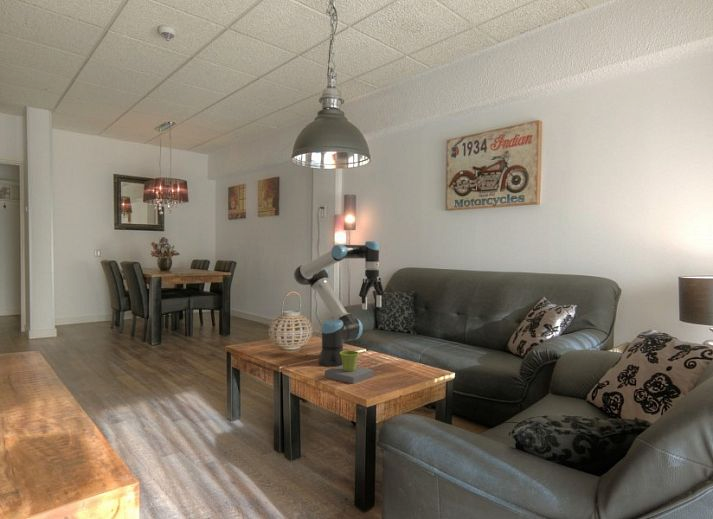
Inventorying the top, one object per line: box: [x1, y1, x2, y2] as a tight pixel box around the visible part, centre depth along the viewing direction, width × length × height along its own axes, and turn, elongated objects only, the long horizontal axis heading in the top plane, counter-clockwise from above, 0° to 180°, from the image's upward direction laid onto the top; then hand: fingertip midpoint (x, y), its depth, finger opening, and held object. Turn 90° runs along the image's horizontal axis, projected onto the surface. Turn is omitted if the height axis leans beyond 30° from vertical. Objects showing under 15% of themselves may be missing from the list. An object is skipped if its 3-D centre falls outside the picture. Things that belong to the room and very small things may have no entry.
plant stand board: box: [324, 365, 374, 384], centre depth 210 cm, size 18×16×3 cm
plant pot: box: [340, 350, 360, 372], centre depth 210 cm, size 9×9×9 cm
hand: (371, 308), depth 233 cm, fingers open, 13 cm apart
